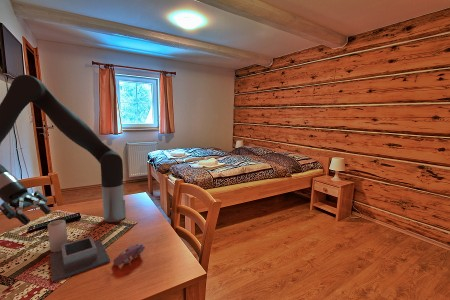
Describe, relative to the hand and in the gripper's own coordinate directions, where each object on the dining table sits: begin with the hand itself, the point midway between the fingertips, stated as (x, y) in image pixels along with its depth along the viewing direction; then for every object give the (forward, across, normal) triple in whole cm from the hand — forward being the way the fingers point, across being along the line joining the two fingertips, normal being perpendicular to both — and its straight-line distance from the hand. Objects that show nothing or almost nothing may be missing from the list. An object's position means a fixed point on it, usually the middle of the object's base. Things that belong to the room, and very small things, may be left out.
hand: (39, 217), depth 85 cm
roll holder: (+22, -6, -6) cm, 24 cm away
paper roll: (+13, 0, +3) cm, 14 cm away
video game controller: (+35, -4, -18) cm, 40 cm away
